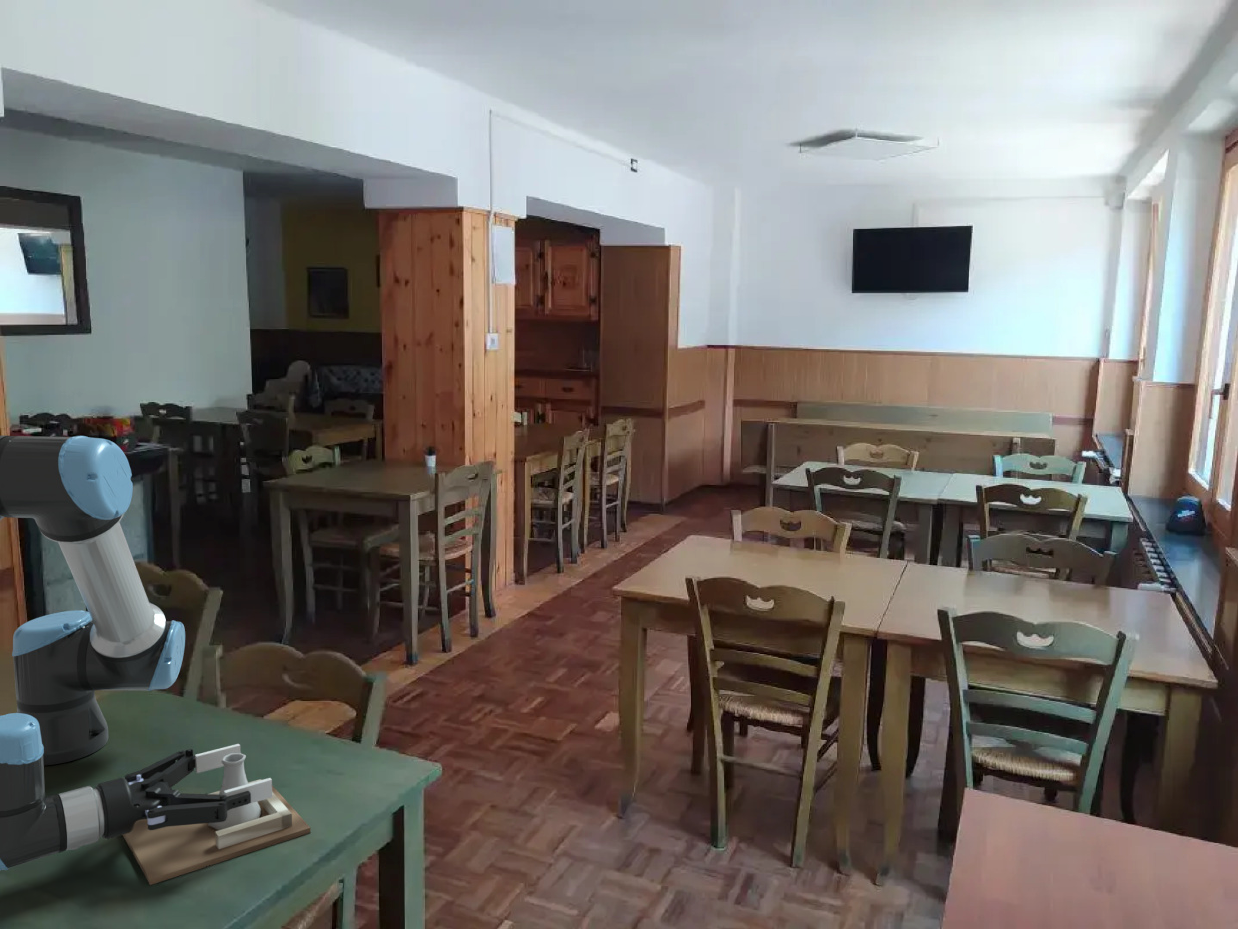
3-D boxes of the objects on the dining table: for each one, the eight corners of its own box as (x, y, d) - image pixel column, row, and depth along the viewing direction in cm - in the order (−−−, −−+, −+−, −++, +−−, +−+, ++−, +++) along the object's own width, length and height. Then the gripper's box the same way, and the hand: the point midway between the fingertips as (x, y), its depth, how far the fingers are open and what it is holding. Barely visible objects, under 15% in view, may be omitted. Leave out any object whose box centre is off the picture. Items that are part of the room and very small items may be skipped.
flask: (242, 836, 137) (241, 772, 136) (198, 829, 139) (196, 765, 137) (270, 811, 144) (269, 750, 143) (228, 804, 146) (226, 744, 144)
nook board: (119, 830, 139) (119, 812, 139) (269, 787, 153) (269, 770, 153) (150, 885, 126) (149, 866, 126) (310, 832, 140) (310, 815, 140)
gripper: (79, 800, 139) (228, 761, 152) (120, 881, 120) (286, 828, 134) (77, 753, 138) (227, 717, 151) (118, 826, 119) (285, 778, 132)
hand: (255, 769), depth 142 cm, fingers open, 13 cm apart
